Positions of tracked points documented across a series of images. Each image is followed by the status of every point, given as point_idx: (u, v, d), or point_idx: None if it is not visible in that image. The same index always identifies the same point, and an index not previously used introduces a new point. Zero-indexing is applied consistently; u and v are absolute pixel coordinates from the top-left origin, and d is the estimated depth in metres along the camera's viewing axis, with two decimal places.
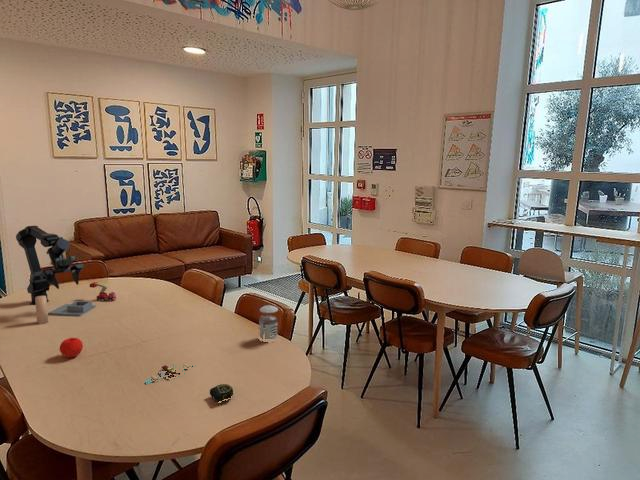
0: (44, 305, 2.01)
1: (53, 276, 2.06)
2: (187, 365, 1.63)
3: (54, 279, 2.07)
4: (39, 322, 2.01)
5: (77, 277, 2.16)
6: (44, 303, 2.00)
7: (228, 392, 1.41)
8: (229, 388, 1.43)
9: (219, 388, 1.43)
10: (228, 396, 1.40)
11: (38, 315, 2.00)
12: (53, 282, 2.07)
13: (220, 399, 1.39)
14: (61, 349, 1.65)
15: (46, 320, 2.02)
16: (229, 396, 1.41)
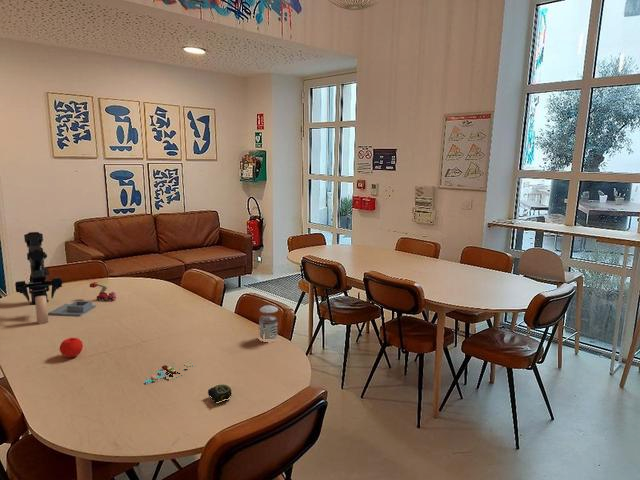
0: (44, 305, 2.01)
1: (25, 288, 2.02)
2: (187, 365, 1.63)
3: (25, 291, 2.02)
4: (39, 322, 2.01)
5: (52, 291, 2.07)
6: (44, 303, 2.00)
7: (226, 392, 1.40)
8: (227, 388, 1.42)
9: (217, 388, 1.42)
10: (226, 396, 1.40)
11: (38, 315, 2.00)
12: (25, 295, 2.02)
13: (218, 399, 1.39)
14: (61, 349, 1.65)
15: (46, 320, 2.02)
16: (227, 396, 1.40)
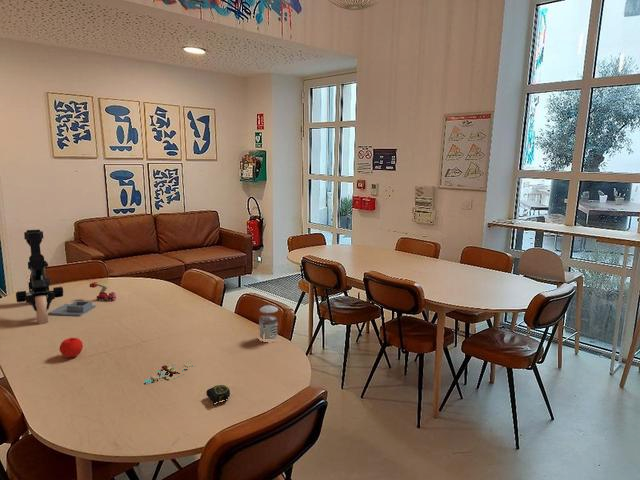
0: (44, 305, 2.01)
1: (31, 298, 2.00)
2: (187, 365, 1.63)
3: (32, 301, 2.00)
4: (39, 322, 2.01)
5: (48, 301, 2.03)
6: (44, 303, 2.00)
7: (225, 393, 1.40)
8: (226, 389, 1.42)
9: (216, 389, 1.42)
10: (225, 397, 1.40)
11: (38, 315, 2.00)
12: (32, 304, 2.00)
13: (217, 400, 1.38)
14: (61, 349, 1.65)
15: (46, 320, 2.02)
16: (226, 397, 1.40)
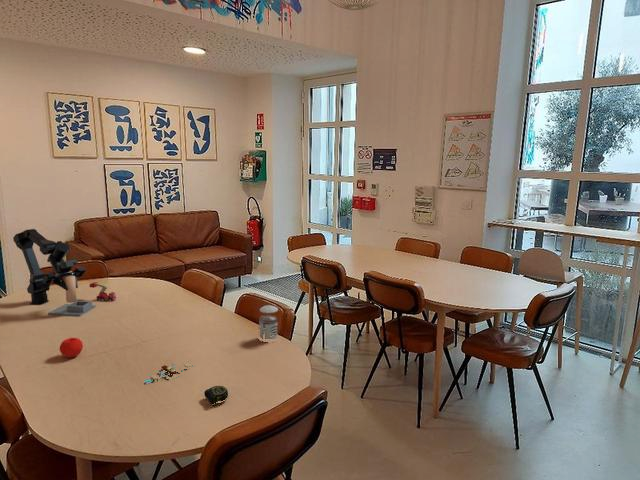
0: (75, 284, 2.12)
1: (61, 278, 2.09)
2: (187, 365, 1.63)
3: (62, 281, 2.09)
4: (70, 300, 2.11)
5: (76, 281, 2.14)
6: (74, 282, 2.12)
7: (223, 394, 1.39)
8: (224, 390, 1.41)
9: (214, 390, 1.42)
10: (223, 398, 1.39)
11: (69, 294, 2.11)
12: (61, 284, 2.10)
13: (215, 401, 1.38)
14: (61, 349, 1.65)
15: (76, 298, 2.14)
16: (224, 398, 1.40)
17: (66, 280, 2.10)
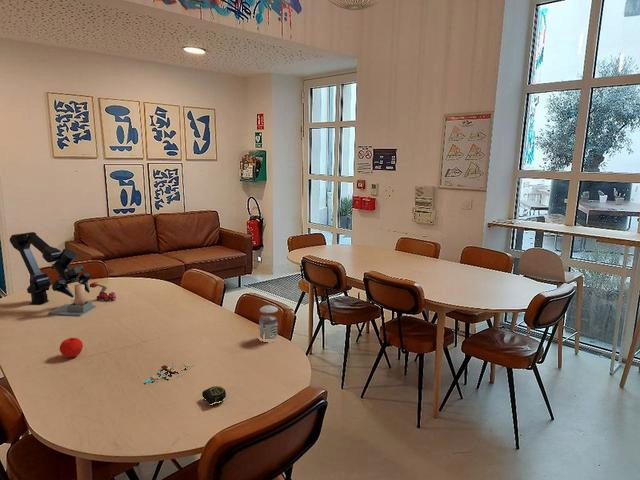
0: (84, 292, 2.18)
1: (66, 285, 2.12)
2: (186, 365, 1.63)
3: (67, 288, 2.12)
4: None
5: (87, 285, 2.22)
6: (84, 290, 2.18)
7: (221, 394, 1.39)
8: (222, 390, 1.41)
9: (212, 390, 1.41)
10: (221, 398, 1.39)
11: (79, 302, 2.17)
12: (67, 292, 2.13)
13: (212, 401, 1.37)
14: (61, 349, 1.65)
15: None
16: (222, 398, 1.39)
17: (76, 289, 2.15)
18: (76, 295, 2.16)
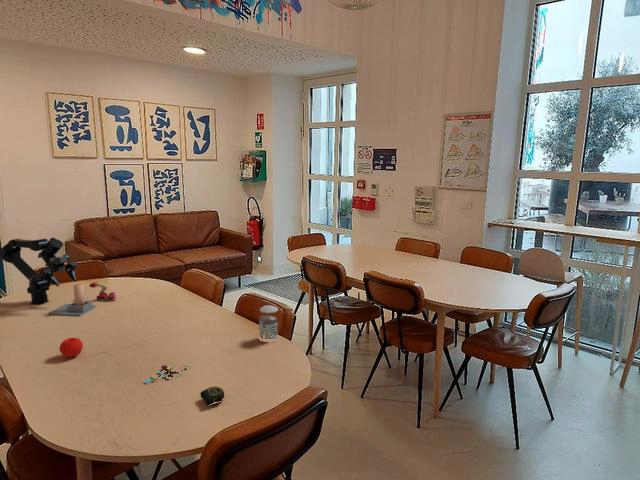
0: (83, 292, 2.18)
1: (51, 275, 2.15)
2: (186, 365, 1.63)
3: (53, 277, 2.15)
4: None
5: (73, 274, 2.25)
6: (83, 290, 2.18)
7: (219, 395, 1.39)
8: (220, 391, 1.41)
9: (210, 391, 1.41)
10: (219, 399, 1.39)
11: (79, 302, 2.17)
12: (52, 281, 2.15)
13: (211, 402, 1.37)
14: (61, 349, 1.65)
15: None
16: (220, 399, 1.39)
17: (75, 289, 2.15)
18: (75, 295, 2.16)
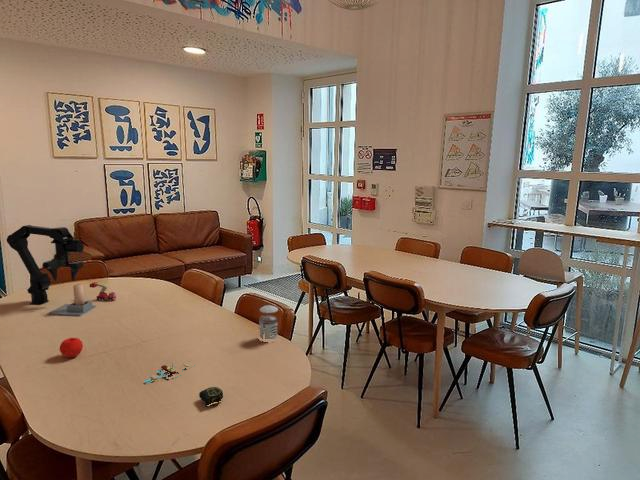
0: (83, 292, 2.18)
1: (50, 270, 2.23)
2: (186, 365, 1.63)
3: (51, 272, 2.24)
4: None
5: (72, 275, 2.24)
6: (83, 290, 2.18)
7: (218, 395, 1.39)
8: (219, 391, 1.41)
9: (209, 391, 1.41)
10: (218, 399, 1.38)
11: (79, 302, 2.17)
12: None
13: (209, 402, 1.37)
14: (61, 349, 1.65)
15: None
16: (219, 399, 1.39)
17: (75, 289, 2.15)
18: (75, 295, 2.16)
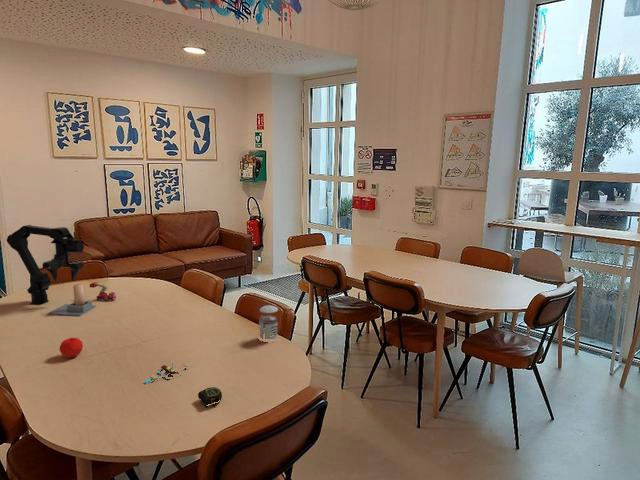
0: (83, 292, 2.18)
1: (50, 270, 2.23)
2: (186, 365, 1.63)
3: (51, 272, 2.24)
4: None
5: (72, 275, 2.25)
6: (83, 290, 2.18)
7: (216, 395, 1.38)
8: (218, 391, 1.40)
9: (207, 391, 1.40)
10: (216, 399, 1.38)
11: (79, 302, 2.17)
12: None
13: (208, 403, 1.37)
14: (61, 349, 1.65)
15: None
16: (217, 399, 1.38)
17: (75, 289, 2.15)
18: (75, 295, 2.16)
